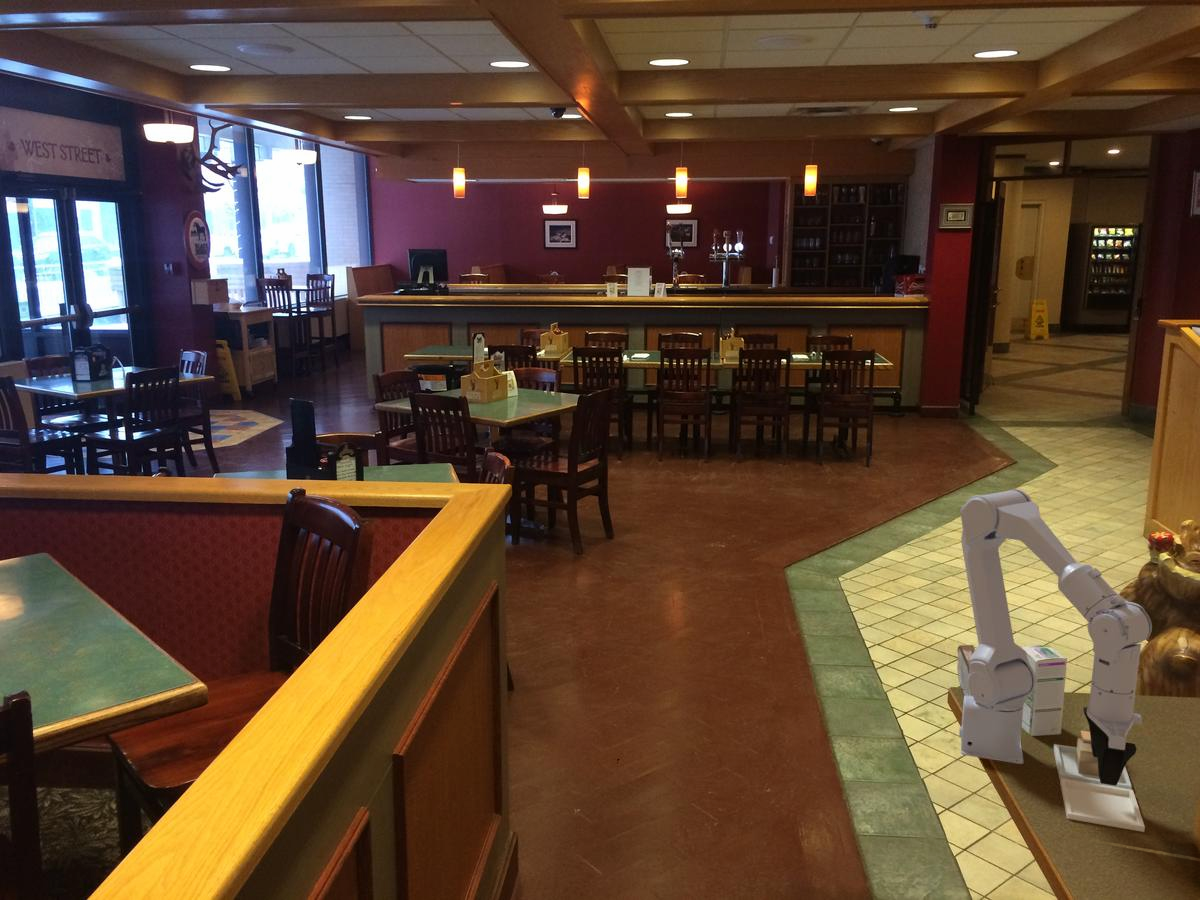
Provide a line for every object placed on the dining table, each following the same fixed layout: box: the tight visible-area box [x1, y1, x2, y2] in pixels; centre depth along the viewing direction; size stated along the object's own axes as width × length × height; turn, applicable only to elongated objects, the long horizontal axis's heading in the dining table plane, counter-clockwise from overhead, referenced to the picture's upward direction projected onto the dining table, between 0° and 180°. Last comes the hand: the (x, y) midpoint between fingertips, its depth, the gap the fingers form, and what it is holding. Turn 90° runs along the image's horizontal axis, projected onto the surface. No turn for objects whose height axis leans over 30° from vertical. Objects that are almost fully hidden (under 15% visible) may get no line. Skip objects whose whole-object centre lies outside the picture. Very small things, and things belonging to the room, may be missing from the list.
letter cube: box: [1075, 737, 1099, 776], centre depth 151 cm, size 4×4×4 cm
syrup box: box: [1020, 644, 1068, 737], centre depth 163 cm, size 6×6×14 cm
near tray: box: [1059, 778, 1146, 833], centre depth 141 cm, size 10×10×1 cm
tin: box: [957, 644, 976, 697], centre depth 177 cm, size 15×3×8 cm, turn 168°
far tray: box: [1053, 743, 1132, 790], centre depth 151 cm, size 10×10×1 cm
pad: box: [1080, 730, 1091, 740], centre depth 159 cm, size 6×6×1 cm
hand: (1104, 769), depth 140 cm, fingers open, 7 cm apart
